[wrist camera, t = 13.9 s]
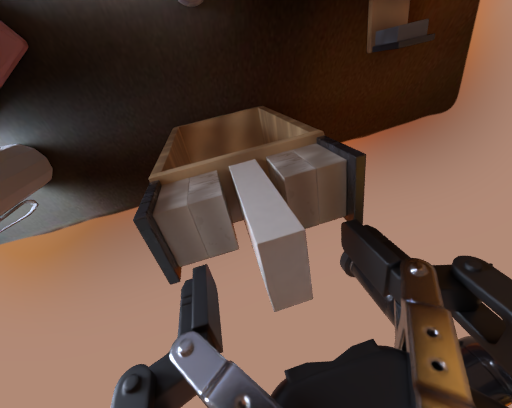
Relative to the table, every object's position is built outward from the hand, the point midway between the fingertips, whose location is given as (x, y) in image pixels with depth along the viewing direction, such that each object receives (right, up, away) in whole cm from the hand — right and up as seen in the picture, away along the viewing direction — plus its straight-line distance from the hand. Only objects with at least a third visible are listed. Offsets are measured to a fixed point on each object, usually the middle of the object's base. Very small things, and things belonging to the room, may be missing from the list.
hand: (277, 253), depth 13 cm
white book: (-2, +4, +8) cm, 9 cm away
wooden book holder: (-2, +5, +9) cm, 10 cm away
